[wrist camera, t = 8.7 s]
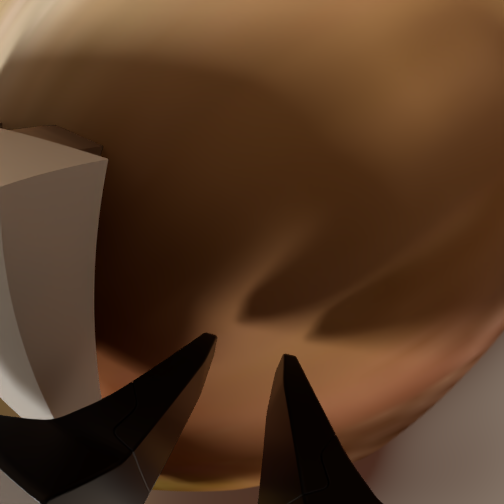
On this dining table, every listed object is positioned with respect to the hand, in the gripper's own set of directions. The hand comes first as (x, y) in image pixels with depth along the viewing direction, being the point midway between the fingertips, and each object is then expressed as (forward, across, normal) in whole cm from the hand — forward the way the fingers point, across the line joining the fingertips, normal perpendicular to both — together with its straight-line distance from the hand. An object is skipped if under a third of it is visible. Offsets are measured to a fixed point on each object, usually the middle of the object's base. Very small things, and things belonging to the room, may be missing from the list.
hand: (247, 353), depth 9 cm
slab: (-1, +12, 0) cm, 12 cm away
